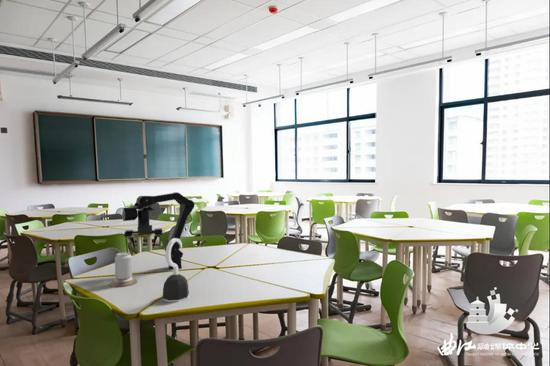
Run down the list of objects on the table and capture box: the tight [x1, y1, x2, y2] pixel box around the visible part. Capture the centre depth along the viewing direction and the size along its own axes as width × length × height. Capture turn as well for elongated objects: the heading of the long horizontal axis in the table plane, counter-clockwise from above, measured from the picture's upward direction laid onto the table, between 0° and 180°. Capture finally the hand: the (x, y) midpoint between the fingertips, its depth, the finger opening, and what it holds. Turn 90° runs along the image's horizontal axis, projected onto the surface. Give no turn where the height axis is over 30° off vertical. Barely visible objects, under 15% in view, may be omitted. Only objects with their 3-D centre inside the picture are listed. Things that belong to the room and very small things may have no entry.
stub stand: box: [109, 275, 138, 288], centre depth 169 cm, size 12×12×2 cm
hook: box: [162, 238, 190, 303], centre depth 148 cm, size 11×11×25 cm
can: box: [114, 251, 133, 280], centre depth 169 cm, size 8×8×12 cm
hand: (144, 248), depth 187 cm, fingers open, 9 cm apart
